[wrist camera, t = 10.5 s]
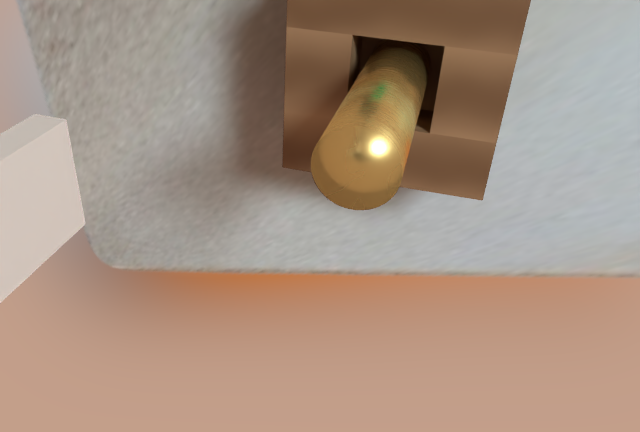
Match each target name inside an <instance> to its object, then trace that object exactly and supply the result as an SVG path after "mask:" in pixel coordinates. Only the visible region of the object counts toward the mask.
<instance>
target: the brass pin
mask: <svg viewBox="0 0 640 432" xmlns="http://www.w3.org/2000/svg"><path fill="white" fill-rule="evenodd" d="M430 68H431V63H430V58H429V55H428V53H427V51H426V49H425V48H424V46H423V45H422V44H421V43H414V42H406V41H398V40H390V39H385V40H383V41H382V42H381V43H379V44H378V45H377V47H376V48H375V49H374V51H373V52H372V54H371V56H370V57H369V59H368V61H367V62H366V64H365V66H364V67H363V69H362V70H361V72H360V74H359V75H358V77H357V79H356V80H355V82H354V84H353V85H352V87H351V89H350V90H349V92H348V93H347V95H346V97H345V98H344V100H343V102H342V103H341V105H340V107H339V108H338V110H337V112H336V113H335V115H334V116H333V118H332V120H331V121H330V123H329V125H328V126H327V128H326V130H325V131H324V133H323V135H322V136H321V138H320V139H319V141H318V143H317V144H316V146H315V148H314V150H313V153H312V157H311V172H312V176H313V179H314V181H315V183H316V185H317V187H318V188H319V190H320V191H321V192H322V193H323V194H324V195H325V196H326V197H327V198H328V199H329V200H330V201H332V202H334V203H335V204H337V205H339V206H342V207H344V208H348V209H353V210H368V209H373V208H376V207H379V206H381V205H383V204H385V203H386V202H387V201H389V200H390V199H391V198H392V197H393V196H394V195H395V193H396V192H397V190H398V188H399V186H400V184H401V181H402V177H403V173H404V169H405V165H406V162H407V158H408V154H409V150H410V146H411V143H412V139H413V135H414V131H415V127H416V123H417V120H418V116H419V112H420V108H421V104H422V101H423V97H424V93H425V89H426V85H427V82H428V78H429V74H430Z"/></svg>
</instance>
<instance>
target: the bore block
mask: <svg viewBox="0 0 640 432" xmlns="http://www.w3.org/2000/svg"><path fill="white" fill-rule="evenodd" d="M530 2H531V0H287V25H286V60H285V95H284V130H283V166H282V167H284V168H290V169H296V170H302V171H308V172H311V157H312V153H313V150H314V148H315V146H316V144H317V143H318V141H319V139H320V138H321V136H322V135H323V133H324V131H325V130H326V128H327V126H328V125H329V123H330V121H331V120H332V118H333V116H334V115H335V113H336V112H337V110H338V108H339V107H340V105H341V103H342V102H343V100H344V98H345V97H346V95H347V93H348V92H349V90H350V89H351V87H352V85H353V84H354V82H355V80H356V79H357V77H358V75H359V74H360V72H361V70H362V69H363V67H364V66H365V64H366V62H367V61H368V59H369V57H370V56H371V54H372V52H373V51H374V49H375V48H376V47H377V45H378V44H379V43H381V42H382V41H383V40H385V39H390V40H398V41H406V42H414V43H421V44H422V45H423V46H424V48H425V49H426V51H427V53H428V55H429V58H430V63H431V68H430V74H429V78H428V82H427V85H426V89H425V93H424V97H423V101H422V104H421V108H420V112H419V116H418V120H417V123H416V127H415V131H414V135H413V139H412V143H411V146H410V150H409V154H408V158H407V162H406V165H405V169H404V173H403V177H402V181H401V184H400V186H399V187H404V188H410V189H416V190H422V191H429V192H435V193H441V194H447V195H453V196H459V197H465V198H471V199H477V200H483V196H484V192H485V188H486V184H487V180H488V176H489V171H490V167H491V163H492V159H493V155H494V151H495V147H496V142H497V138H498V134H499V130H500V126H501V122H502V118H503V113H504V109H505V105H506V101H507V97H508V93H509V89H510V84H511V80H512V76H513V72H514V68H515V64H516V60H517V55H518V51H519V47H520V43H521V39H522V35H523V31H524V27H525V22H526V18H527V14H528V10H529V6H530Z"/></svg>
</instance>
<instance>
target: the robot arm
mask: <svg viewBox="0 0 640 432" xmlns="http://www.w3.org/2000/svg"><path fill="white" fill-rule="evenodd" d="M84 225H85V219H84V213H83V208H82V202H81V197H80V192H79V186H78V181H77V175H76V170H75V165H74V159H73V154H72V148H71V143H70V137H69V132H68V127H67V121H66V119H61V118H55V117H49V116H43V115H38V114H34V115H32V116H31V117H29V118H27V119H25V120H24V121H22V122H20V123H18V124H17V125H15V126H13V127H11V128H10V129H8V130H6V131H5V132H3V133H1V134H0V303H1V302H2V301H3V300H4V299H5V298H6V297H7V296H8V295H9V294H10V293H11V292H13V291H14V290H15V289H16V288H17V287H18V286H19V285H20V284H21V283H22V282H23V281H24V280H26V279H27V278H28V277H29V276H30V275H31V274H32V273H33V272H34V271H35V270H36V269H37V268H39V267H40V266H41V265H42V264H43V263H44V262H45V261H46V260H47V259H48V258H49V257H50V256H52V255H53V254H54V253H55V252H56V251H57V250H58V249H59V248H60V247H61V246H62V245H63V244H64V243H66V242H67V241H68V240H69V239H70V238H71V237H72V236H73V235H74V234H75V233H76V232H77V231H79V229H81V228H82V227H83V226H84Z"/></svg>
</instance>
